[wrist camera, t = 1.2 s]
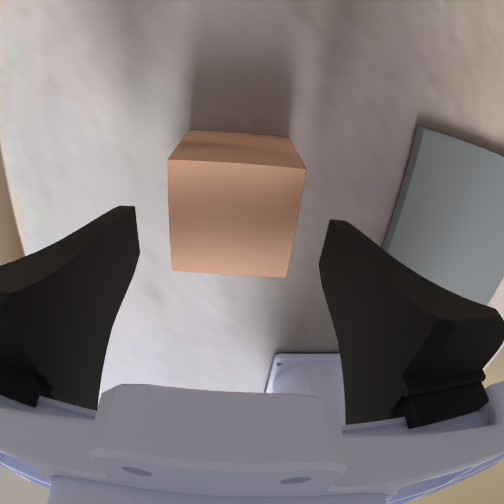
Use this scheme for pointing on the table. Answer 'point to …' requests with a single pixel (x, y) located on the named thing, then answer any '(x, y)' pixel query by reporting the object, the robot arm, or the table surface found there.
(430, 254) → the slate mat
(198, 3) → the table surface
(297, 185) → the cube
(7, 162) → the table surface
